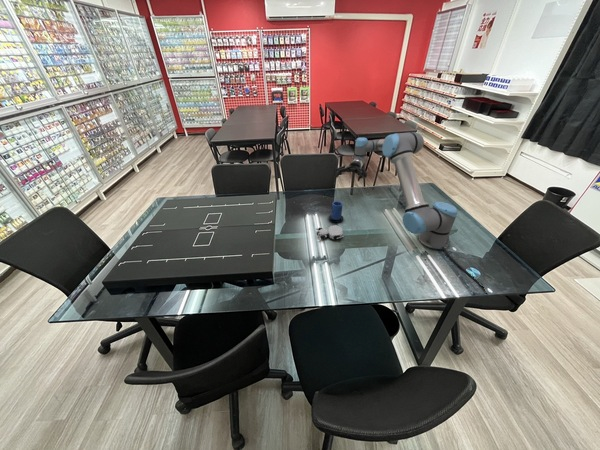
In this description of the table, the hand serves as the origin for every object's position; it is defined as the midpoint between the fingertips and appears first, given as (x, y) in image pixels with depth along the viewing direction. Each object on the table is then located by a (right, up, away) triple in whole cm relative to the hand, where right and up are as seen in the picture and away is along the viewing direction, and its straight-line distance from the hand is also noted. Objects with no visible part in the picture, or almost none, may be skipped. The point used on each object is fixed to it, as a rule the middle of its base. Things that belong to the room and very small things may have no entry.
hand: (347, 177), depth 151 cm
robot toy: (-12, -36, -7) cm, 38 cm away
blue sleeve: (-6, -24, +6) cm, 26 cm away
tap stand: (-6, -26, +7) cm, 27 cm away
